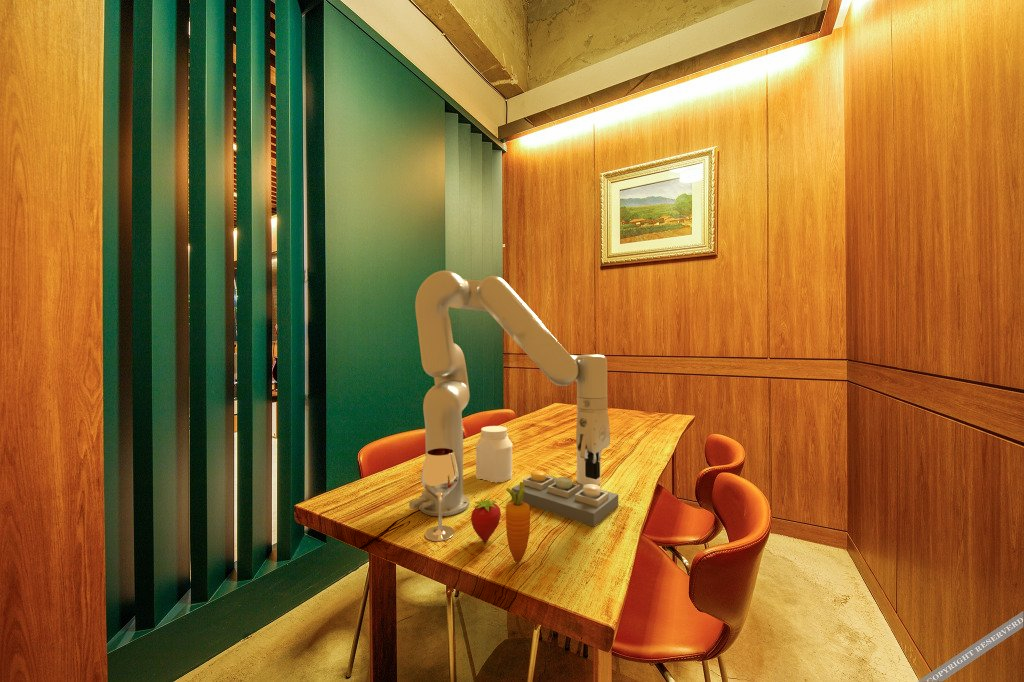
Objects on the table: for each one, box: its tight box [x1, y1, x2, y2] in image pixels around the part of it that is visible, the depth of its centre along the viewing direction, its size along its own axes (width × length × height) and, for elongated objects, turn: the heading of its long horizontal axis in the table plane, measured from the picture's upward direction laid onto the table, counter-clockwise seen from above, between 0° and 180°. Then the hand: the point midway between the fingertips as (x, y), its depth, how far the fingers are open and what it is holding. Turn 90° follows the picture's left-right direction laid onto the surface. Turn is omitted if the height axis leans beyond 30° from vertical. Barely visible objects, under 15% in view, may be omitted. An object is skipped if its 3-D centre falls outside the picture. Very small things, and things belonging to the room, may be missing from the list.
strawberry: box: [470, 494, 502, 543], centre depth 79 cm, size 6×8×10 cm
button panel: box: [511, 474, 619, 528], centre depth 98 cm, size 14×24×4 cm, turn 52°
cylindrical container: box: [576, 409, 602, 486], centre depth 114 cm, size 7×7×25 cm
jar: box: [475, 425, 513, 484], centre depth 118 cm, size 12×10×15 cm
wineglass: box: [420, 448, 459, 542], centre depth 82 cm, size 8×8×18 cm
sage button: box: [555, 476, 573, 489], centre depth 98 cm, size 4×4×2 cm
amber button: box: [530, 470, 547, 482], centre depth 103 cm, size 4×4×2 cm
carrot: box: [505, 481, 531, 564], centre depth 71 cm, size 5×5×15 cm
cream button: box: [583, 484, 601, 497], centre depth 93 cm, size 4×4×2 cm
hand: (592, 477), depth 93 cm, fingers closed
